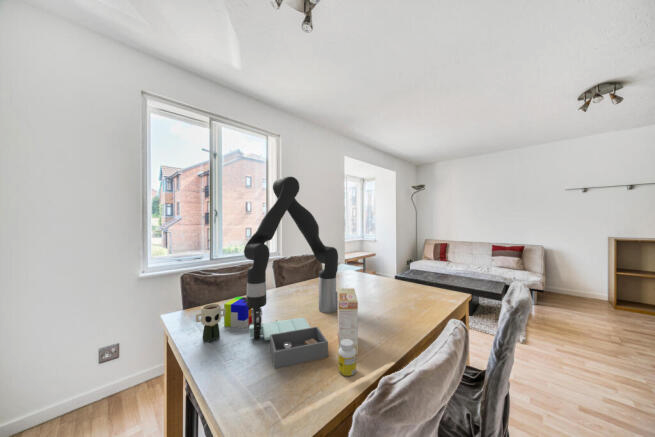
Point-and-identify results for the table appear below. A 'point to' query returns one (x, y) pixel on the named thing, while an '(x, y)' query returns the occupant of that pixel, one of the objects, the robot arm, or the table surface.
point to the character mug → (210, 320)
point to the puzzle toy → (237, 313)
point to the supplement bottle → (347, 358)
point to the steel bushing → (287, 345)
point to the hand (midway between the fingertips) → (256, 336)
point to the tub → (297, 347)
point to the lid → (280, 327)
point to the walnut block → (310, 342)
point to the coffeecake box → (347, 316)
